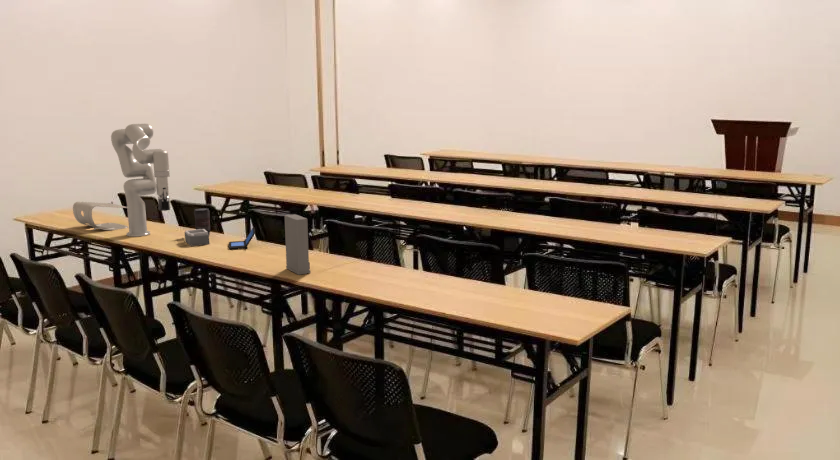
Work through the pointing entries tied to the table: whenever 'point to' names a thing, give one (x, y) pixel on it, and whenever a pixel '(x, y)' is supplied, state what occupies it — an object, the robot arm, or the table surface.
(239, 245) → the game console
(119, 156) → the robot arm
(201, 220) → the camera lens
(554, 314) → the table surface
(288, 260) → the tall grey upright pillar
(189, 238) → the camera body block
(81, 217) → the portable electronic device stand
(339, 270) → the table surface
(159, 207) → the ringed metal cylinder
